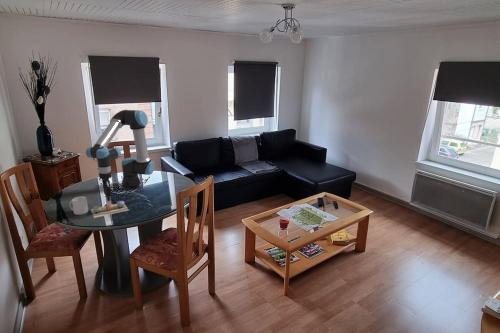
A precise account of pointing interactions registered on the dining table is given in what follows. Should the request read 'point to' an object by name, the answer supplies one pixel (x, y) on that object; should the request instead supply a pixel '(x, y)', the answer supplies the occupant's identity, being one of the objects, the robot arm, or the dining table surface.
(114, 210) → the button board
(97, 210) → the button sage
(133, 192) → the dining table surface
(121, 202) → the button slate
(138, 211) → the dining table surface
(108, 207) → the button terracotta
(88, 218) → the dining table surface
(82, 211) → the mug
